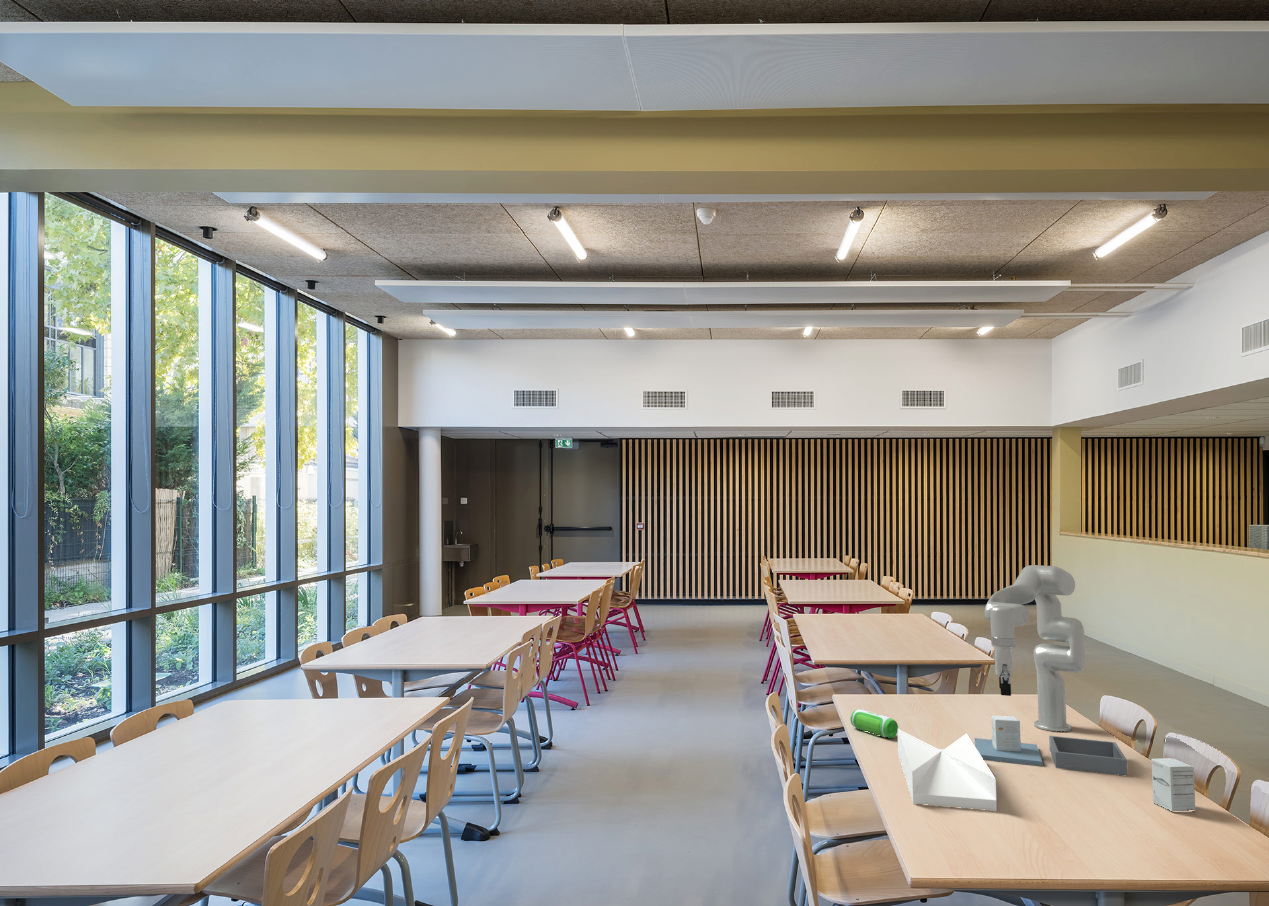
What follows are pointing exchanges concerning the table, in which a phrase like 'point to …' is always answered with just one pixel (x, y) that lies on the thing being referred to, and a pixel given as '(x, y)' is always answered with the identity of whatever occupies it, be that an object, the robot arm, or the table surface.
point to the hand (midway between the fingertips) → (1005, 691)
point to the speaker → (874, 723)
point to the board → (1009, 753)
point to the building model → (947, 774)
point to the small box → (1006, 733)
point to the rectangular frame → (1087, 755)
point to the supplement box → (1173, 784)
